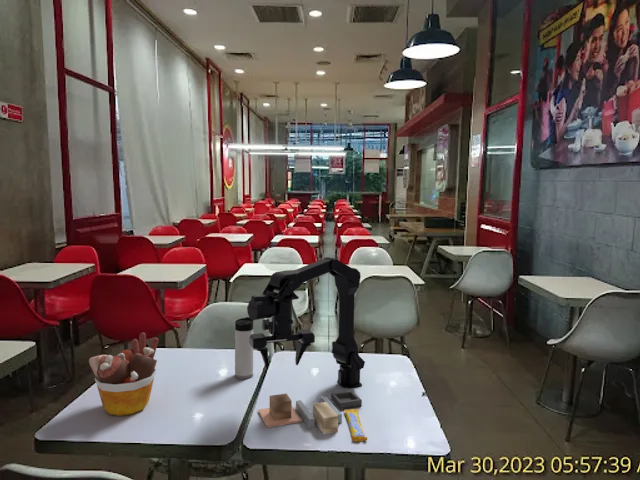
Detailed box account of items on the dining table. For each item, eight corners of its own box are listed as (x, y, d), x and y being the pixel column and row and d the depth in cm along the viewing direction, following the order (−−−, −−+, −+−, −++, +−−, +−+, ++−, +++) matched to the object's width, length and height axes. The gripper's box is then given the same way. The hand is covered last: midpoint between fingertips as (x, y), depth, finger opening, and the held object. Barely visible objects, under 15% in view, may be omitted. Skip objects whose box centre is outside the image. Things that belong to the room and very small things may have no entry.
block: (286, 410, 132) (286, 393, 132) (291, 417, 128) (291, 400, 127) (269, 412, 131) (269, 395, 130) (273, 420, 126) (274, 403, 125)
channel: (325, 404, 138) (326, 396, 138) (341, 422, 127) (341, 414, 126) (295, 409, 134) (295, 400, 134) (309, 428, 123) (309, 419, 123)
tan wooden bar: (325, 417, 130) (326, 401, 130) (337, 432, 122) (338, 416, 121) (312, 419, 129) (312, 403, 128) (323, 434, 120) (324, 418, 120)
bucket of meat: (131, 426, 122) (129, 354, 121) (78, 419, 126) (76, 348, 124) (171, 395, 142) (170, 333, 140) (124, 390, 145) (123, 328, 144)
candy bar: (368, 444, 116) (368, 437, 116) (352, 445, 116) (352, 438, 116) (358, 413, 133) (358, 407, 133) (343, 414, 133) (344, 407, 133)
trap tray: (351, 396, 144) (351, 390, 143) (361, 406, 137) (361, 399, 137) (331, 399, 141) (331, 393, 141) (340, 409, 135) (340, 403, 134)
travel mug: (256, 373, 161) (257, 317, 159) (247, 380, 155) (248, 322, 153) (241, 371, 163) (241, 316, 161) (231, 377, 157) (231, 320, 155)
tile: (291, 406, 136) (291, 404, 136) (301, 421, 127) (302, 419, 127) (258, 411, 132) (258, 409, 132) (266, 427, 123) (266, 425, 123)
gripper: (303, 306, 145) (302, 354, 147) (245, 311, 139) (245, 361, 140) (315, 315, 135) (315, 366, 136) (253, 320, 128) (253, 374, 130)
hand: (281, 366), depth 136 cm, fingers open, 9 cm apart
